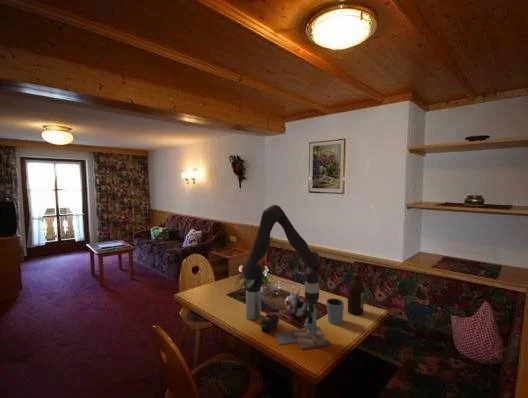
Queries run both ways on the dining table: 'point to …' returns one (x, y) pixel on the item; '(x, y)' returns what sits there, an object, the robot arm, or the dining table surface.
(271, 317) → the black lumpy shape
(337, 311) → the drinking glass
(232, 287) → the dining table surface
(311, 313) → the robot arm
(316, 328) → the teal teardrop shape
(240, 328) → the dining table surface
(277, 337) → the mat
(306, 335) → the square mounting plate
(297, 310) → the lucky cat figurine
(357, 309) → the olive oil
